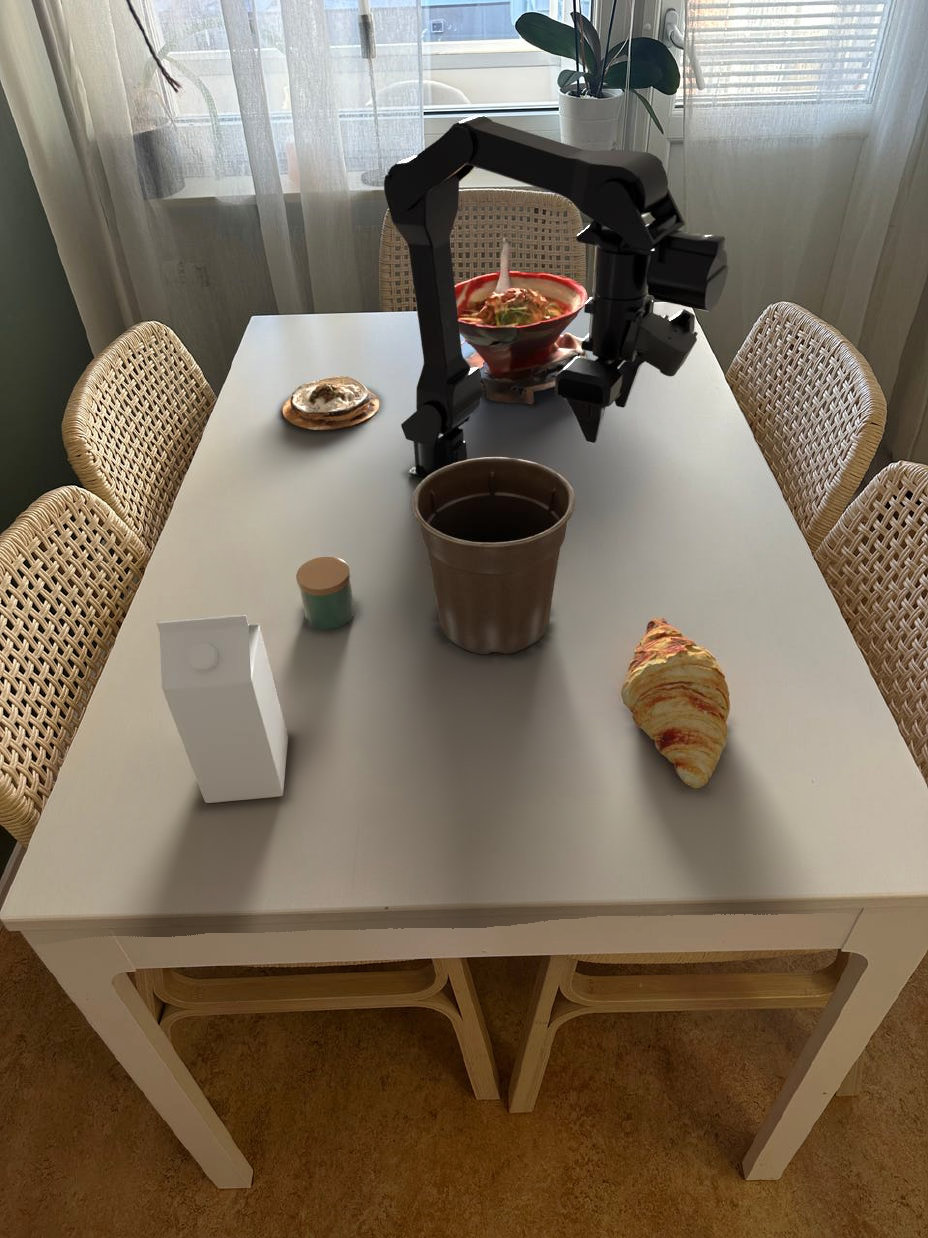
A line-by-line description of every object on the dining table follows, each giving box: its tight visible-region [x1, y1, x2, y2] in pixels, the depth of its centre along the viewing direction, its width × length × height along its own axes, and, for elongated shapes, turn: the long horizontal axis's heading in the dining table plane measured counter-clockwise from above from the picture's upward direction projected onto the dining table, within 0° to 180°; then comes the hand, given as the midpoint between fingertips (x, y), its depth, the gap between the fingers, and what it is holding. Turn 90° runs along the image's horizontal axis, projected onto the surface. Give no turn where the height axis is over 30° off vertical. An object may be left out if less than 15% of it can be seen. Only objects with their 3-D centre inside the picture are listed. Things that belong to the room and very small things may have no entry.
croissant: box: [620, 617, 731, 789], centre depth 84 cm, size 21×10×8 cm, turn 2°
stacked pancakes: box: [282, 375, 380, 431], centre depth 135 cm, size 15×15×4 cm
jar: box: [295, 556, 356, 630], centre depth 97 cm, size 6×6×6 cm
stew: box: [455, 238, 589, 406], centre depth 140 cm, size 28×24×16 cm
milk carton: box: [156, 613, 289, 804], centre depth 76 cm, size 7×7×19 cm
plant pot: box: [411, 456, 576, 656], centre depth 92 cm, size 16×16×16 cm
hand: (606, 423), depth 102 cm, fingers open, 9 cm apart
